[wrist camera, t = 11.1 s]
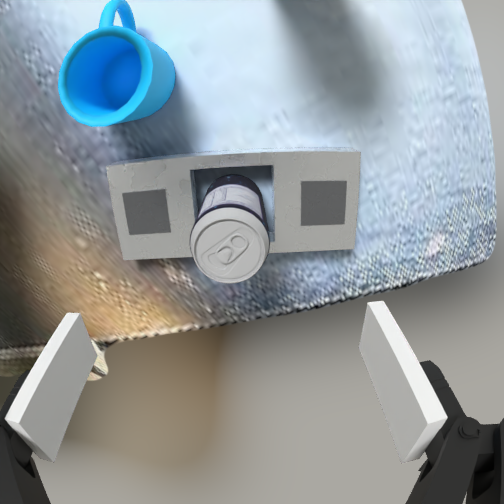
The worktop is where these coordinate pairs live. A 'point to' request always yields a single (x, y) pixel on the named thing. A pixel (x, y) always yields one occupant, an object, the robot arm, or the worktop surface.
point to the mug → (115, 73)
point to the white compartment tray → (282, 160)
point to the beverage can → (230, 230)
